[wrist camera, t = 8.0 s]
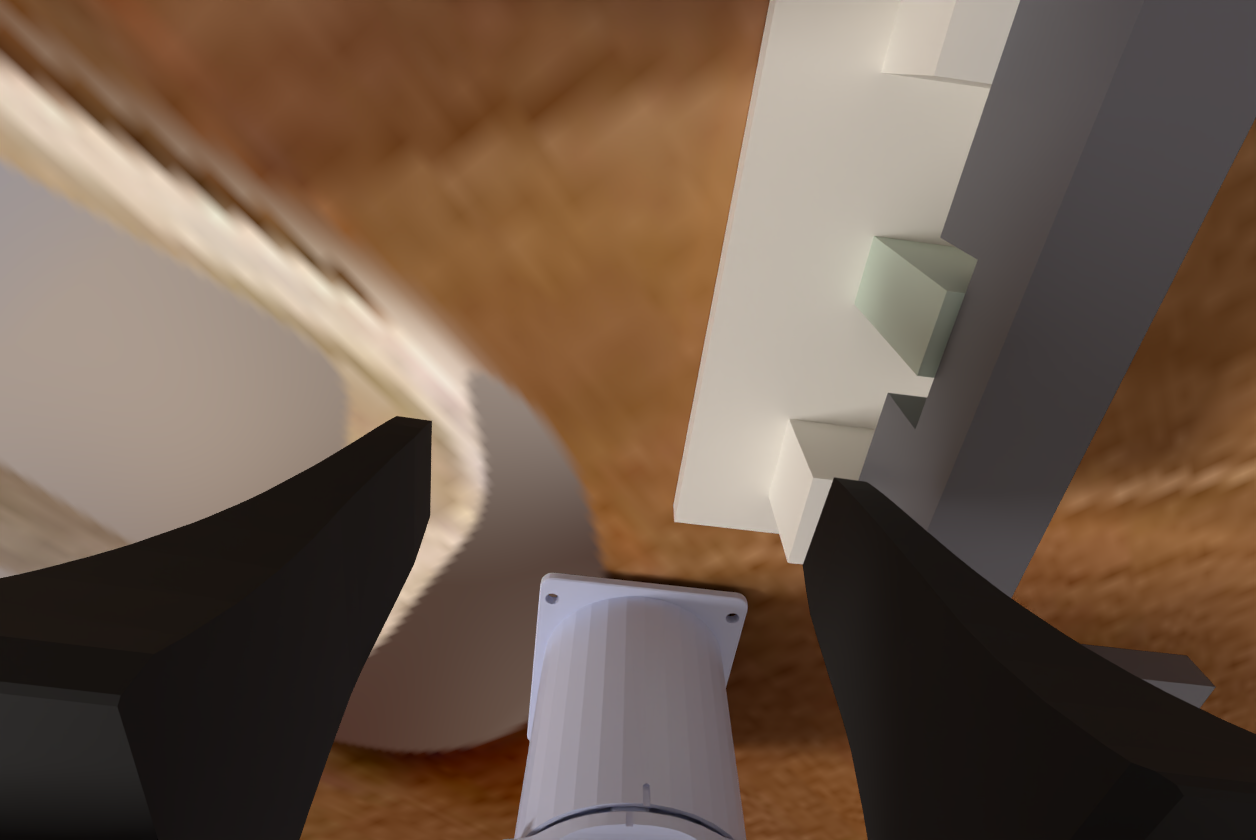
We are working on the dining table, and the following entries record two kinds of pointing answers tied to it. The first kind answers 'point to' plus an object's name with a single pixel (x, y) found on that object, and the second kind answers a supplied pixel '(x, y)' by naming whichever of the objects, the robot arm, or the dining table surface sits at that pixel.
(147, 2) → the dining table surface
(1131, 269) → the grey c-shaped bracket
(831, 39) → the stand
